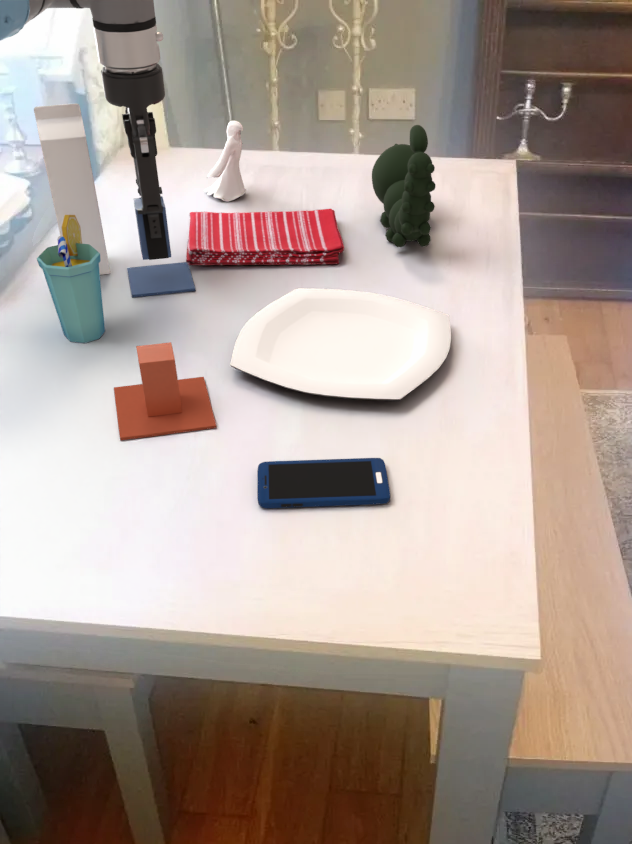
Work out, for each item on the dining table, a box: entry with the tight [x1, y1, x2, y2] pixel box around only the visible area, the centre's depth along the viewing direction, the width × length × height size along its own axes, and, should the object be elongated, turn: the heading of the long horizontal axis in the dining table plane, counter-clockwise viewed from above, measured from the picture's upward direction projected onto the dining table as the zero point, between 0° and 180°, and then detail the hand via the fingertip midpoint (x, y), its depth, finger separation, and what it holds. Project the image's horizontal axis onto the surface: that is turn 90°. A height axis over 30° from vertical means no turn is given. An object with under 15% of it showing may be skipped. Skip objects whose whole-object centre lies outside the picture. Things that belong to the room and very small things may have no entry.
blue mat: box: [126, 261, 197, 298], centre depth 130 cm, size 9×9×1 cm
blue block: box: [132, 195, 172, 261], centre depth 125 cm, size 4×4×7 cm
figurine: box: [203, 120, 247, 202], centre depth 149 cm, size 8×8×12 cm
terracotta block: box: [135, 341, 182, 417], centre depth 104 cm, size 4×4×7 cm
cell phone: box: [256, 457, 391, 509], centre depth 96 cm, size 7×14×1 cm, turn 94°
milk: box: [33, 103, 111, 276], centre depth 126 cm, size 6×6×22 cm
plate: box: [229, 287, 452, 401], centre depth 115 cm, size 27×27×2 cm
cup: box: [36, 215, 106, 344], centre depth 113 cm, size 14×8×15 cm, turn 12°
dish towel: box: [185, 208, 345, 266], centre depth 139 cm, size 17×24×3 cm
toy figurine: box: [371, 124, 436, 248], centre depth 137 cm, size 9×19×25 cm
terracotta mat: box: [113, 376, 218, 441], centre depth 106 cm, size 11×11×1 cm
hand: (157, 250), depth 127 cm, fingers closed on blue block, 4 cm apart
